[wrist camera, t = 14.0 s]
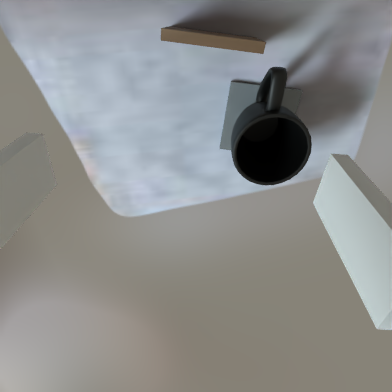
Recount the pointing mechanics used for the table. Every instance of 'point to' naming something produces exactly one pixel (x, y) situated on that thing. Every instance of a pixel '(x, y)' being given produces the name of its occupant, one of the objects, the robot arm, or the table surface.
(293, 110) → the coaster
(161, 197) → the table surface
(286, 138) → the mug
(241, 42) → the rack
